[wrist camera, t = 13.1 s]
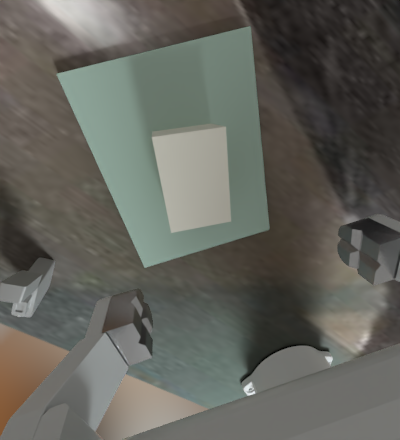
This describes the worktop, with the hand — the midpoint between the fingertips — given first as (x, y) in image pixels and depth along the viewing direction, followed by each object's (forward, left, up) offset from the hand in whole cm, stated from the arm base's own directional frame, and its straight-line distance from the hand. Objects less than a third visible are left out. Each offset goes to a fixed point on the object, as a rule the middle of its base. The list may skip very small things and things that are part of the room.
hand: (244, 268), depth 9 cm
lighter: (-6, +18, -17) cm, 25 cm away
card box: (0, 0, -16) cm, 16 cm away
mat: (0, 0, -16) cm, 16 cm away
